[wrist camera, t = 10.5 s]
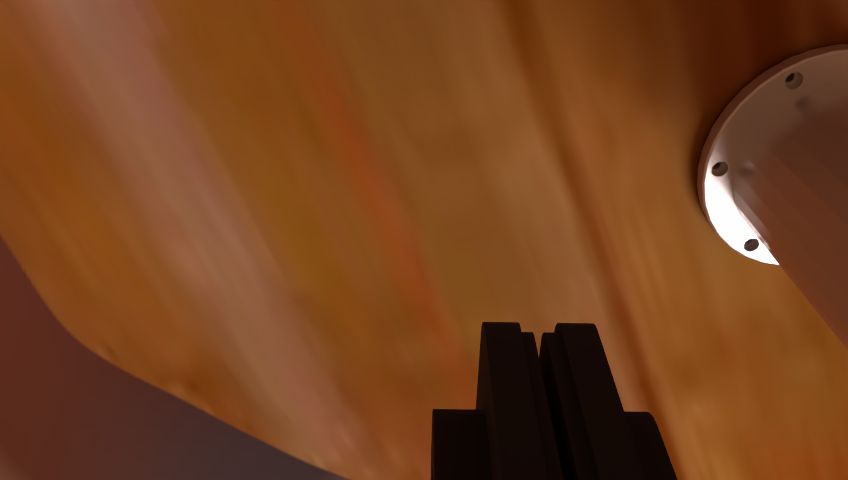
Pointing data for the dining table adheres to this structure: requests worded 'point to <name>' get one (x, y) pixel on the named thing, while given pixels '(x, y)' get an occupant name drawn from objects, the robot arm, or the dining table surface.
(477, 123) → the dining table surface
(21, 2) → the dining table surface
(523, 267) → the dining table surface
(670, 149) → the dining table surface
